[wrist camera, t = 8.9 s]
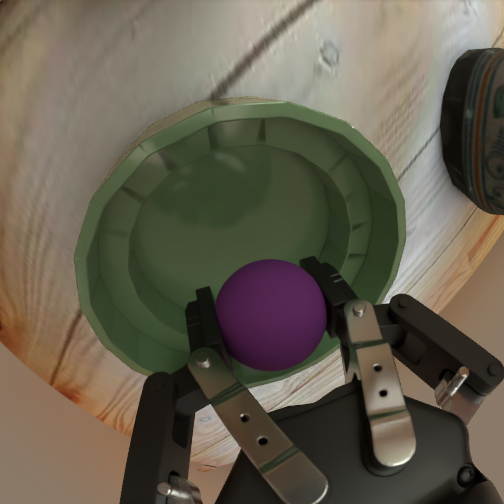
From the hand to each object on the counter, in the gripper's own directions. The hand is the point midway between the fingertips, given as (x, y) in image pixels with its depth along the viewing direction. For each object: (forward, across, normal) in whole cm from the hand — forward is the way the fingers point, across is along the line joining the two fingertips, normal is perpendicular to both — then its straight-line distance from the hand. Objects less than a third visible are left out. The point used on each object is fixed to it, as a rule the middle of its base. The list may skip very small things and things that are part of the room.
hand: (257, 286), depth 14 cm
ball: (-2, 0, 0) cm, 2 cm away
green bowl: (+5, 0, 0) cm, 5 cm away
